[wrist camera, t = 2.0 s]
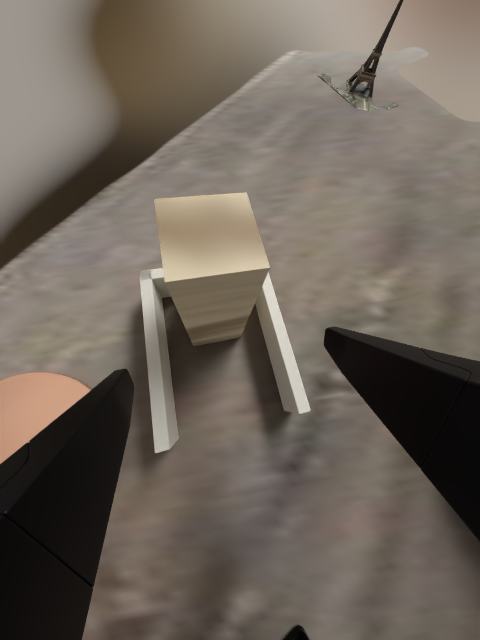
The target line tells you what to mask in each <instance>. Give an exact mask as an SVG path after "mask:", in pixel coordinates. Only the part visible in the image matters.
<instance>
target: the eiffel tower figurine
mask: <svg viewBox="0 0 480 640" xmlns="http://www.w3.org/2000/svg"><path fill="white" fill-rule="evenodd" d="M402 2H403V0H400V1H399V3H398V5H397V7H396V9H395V11H394V13H393V15H392V17H391V19H390V21H389V23H388V25H387V27H386V29H385V31H384V33H383V34H382V36H381V38H380V40H379V42H378V44H377V45H376V47H375V49H373V52H372V54H371V55H370V57H369V58H368V59H367V61H366V62H365V64H364V65H363V64H362V66H361V68H360V69H359V70H358V71H357V72H356V73H355V74H354V75H353V76H352V77H351V78H350V79H349V80H347V91H344V90H340V89H337V88H335V87H333V86H332V84H331V77H329V76H327V75H325V74H320V75H318V76H320V77H321V78H322V79H323V80H324V81H325V82H326V83H327V84H328V85H329V86H331V87H332V88H333V89H334V90H336V91H337V92H338V93H339V94H341V95H342V96H343V97H344V98H345V99H346V100H347V101H348V102H350V103H351V104H352V105H353V106H354V107H356V108H358V109H362V110H366V111H374V110H377V108H378V107H377V106H376V105H375V104H373V103H372V102H370V101H368V100H371V101H373V100H372V93H373V85H374V79H375V77H376V68H377V65H378V62H379V58H380V56H381V55H382V53H381V52H382V50H383V47H384V44H385V42H386V39H387V37H388V35H389V32H390V30H391V28H392V25H393V23H394V21H395V18H396V16H397V14H398V11H399V9H400V7H401V5H402ZM373 59H374V62H373V65H372V67H370V65H371V63H372V61H373ZM356 78H357V79H356ZM355 79H356V81H355V82H353V81H354V80H355ZM361 82H367V83H368V84H367V85H364V84H360V83H361ZM366 99H367V100H366ZM395 106H398V105H397V104H395V103H392V104H391V105H389V104H387V105H386V104H383V105H382V107H383V108H384V109H386V110H388V109H390V108H393V107H395Z"/></svg>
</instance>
